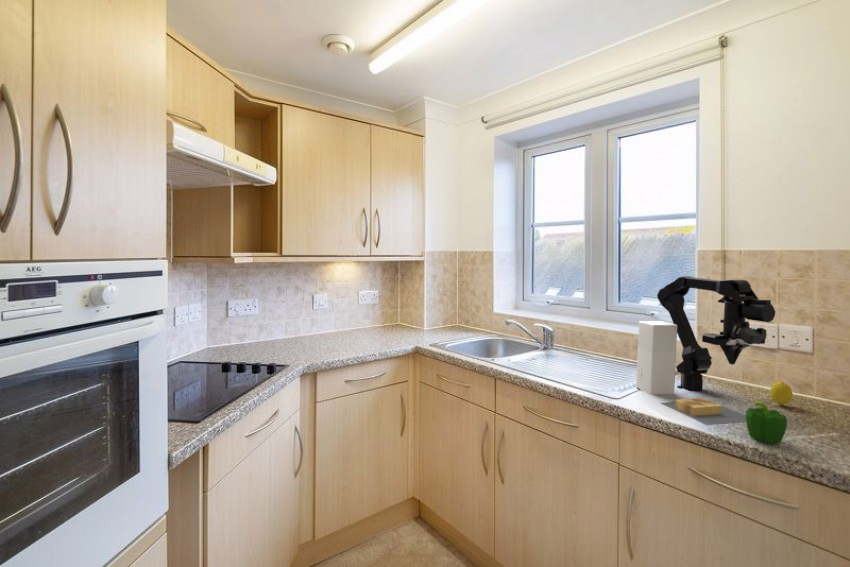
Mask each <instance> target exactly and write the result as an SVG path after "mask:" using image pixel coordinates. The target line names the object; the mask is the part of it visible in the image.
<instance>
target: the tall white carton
mask: <svg viewBox="0 0 850 567" xmlns="http://www.w3.org/2000/svg"><path fill="white" fill-rule="evenodd" d="M677 338H678V333H677V325H676V324H674V323H672V322H667V321H662V320H647V321H646V320H639V321H638V338H637V339H638V340H637V356H636V357H637V360H636V362H637V363H636V381H635V382H636V383H635V386H636V387H637V388H639V389H640V390H639V389H638V390H639V391H641V392H646V393H648V394H649V395H675V390H676V388H675V386H676V385H675V383H676V370H677V368H676V366H677V364H676V363H677V345H678V344H677V342H678V341H677V340H678V339H677ZM636 387H635V388H636ZM637 388H636V389H637Z"/></svg>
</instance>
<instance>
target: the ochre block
mask: <svg viewBox="0 0 850 567" xmlns="http://www.w3.org/2000/svg"><path fill="white" fill-rule="evenodd" d="M708 400H709V399H706V398H702V397H698V398H684V399H683V398H682V399H681V398H680V399H675V400H674V402H675V408H677V409H679V410H681V411H684V412H686V413H688V414H690V415H692V416H698V415H712V414H721V410H722V406H723V405H721V404H719V405H718V403H716V402H714V403H713V401H711V400H709V401H708Z"/></svg>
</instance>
